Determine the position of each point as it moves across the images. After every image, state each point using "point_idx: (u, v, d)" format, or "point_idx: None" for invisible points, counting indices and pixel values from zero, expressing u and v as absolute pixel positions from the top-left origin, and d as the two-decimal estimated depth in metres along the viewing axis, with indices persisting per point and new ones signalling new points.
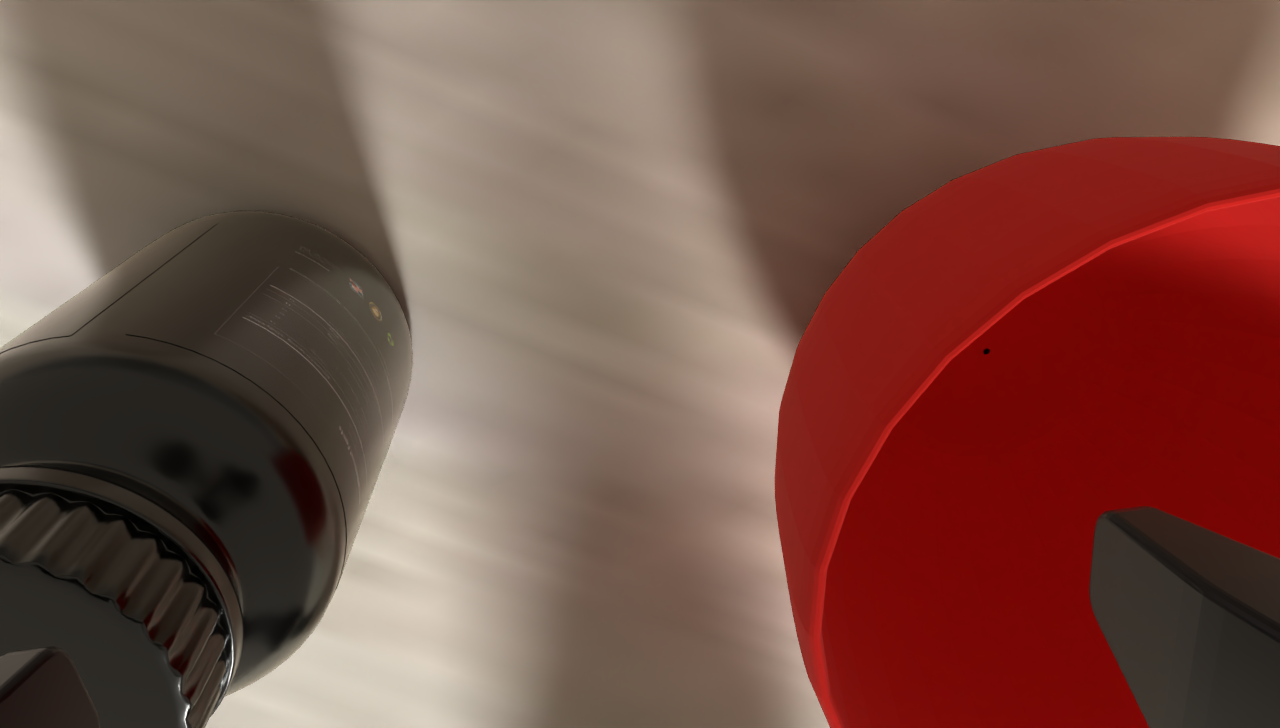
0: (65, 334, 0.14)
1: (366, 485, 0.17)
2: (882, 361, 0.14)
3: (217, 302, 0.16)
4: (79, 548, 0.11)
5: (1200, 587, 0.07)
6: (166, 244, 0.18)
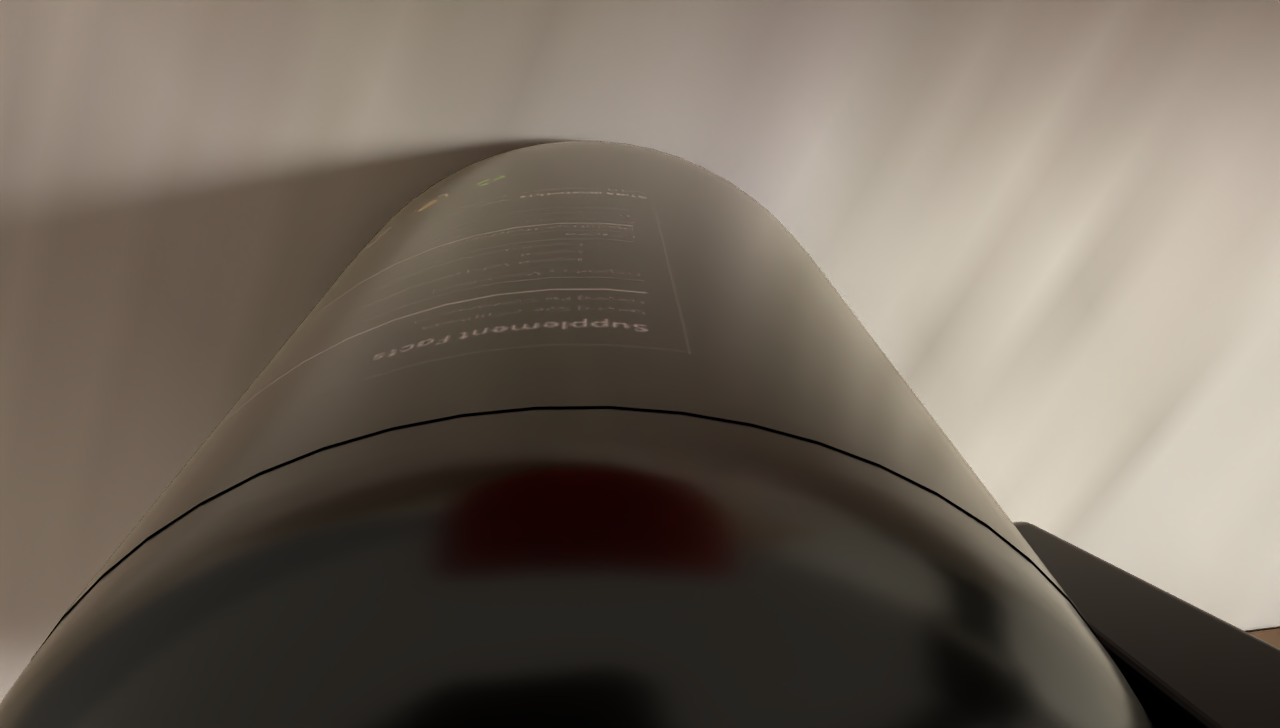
0: None
1: (643, 294, 0.06)
2: None
3: None
4: None
5: None
6: None
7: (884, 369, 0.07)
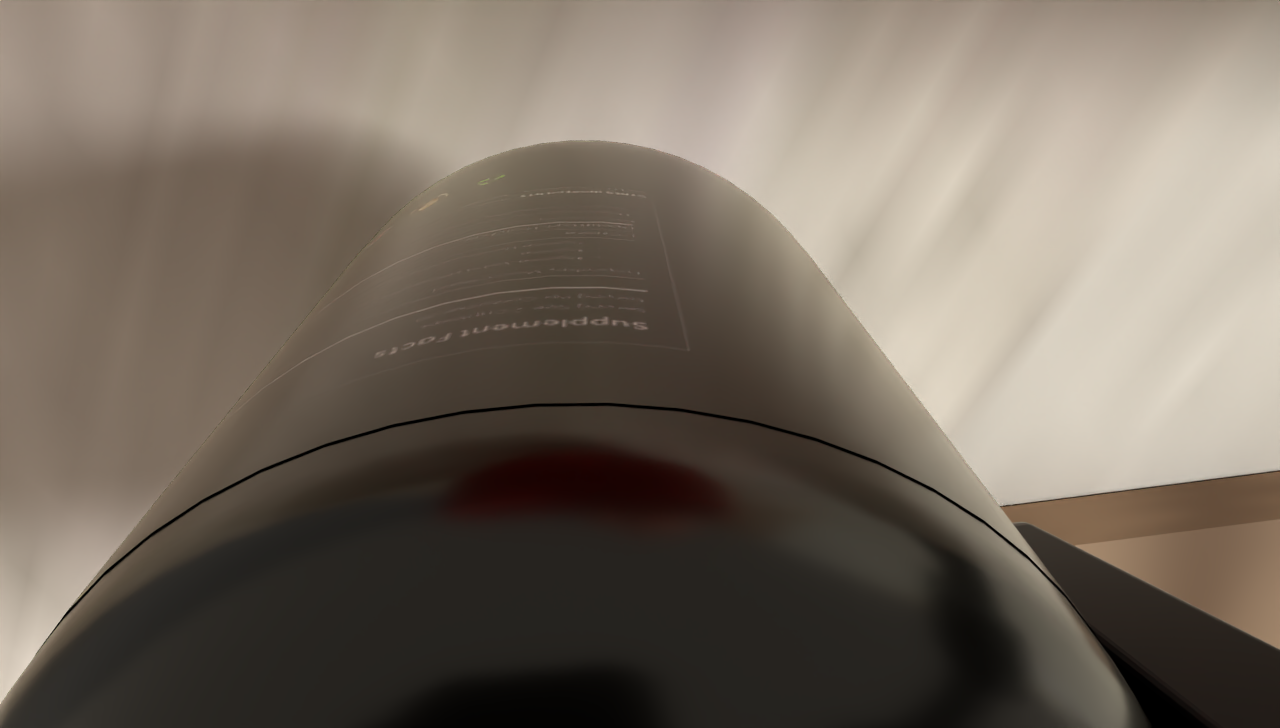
0: None
1: (642, 292, 0.06)
2: None
3: None
4: None
5: None
6: None
7: (882, 367, 0.07)
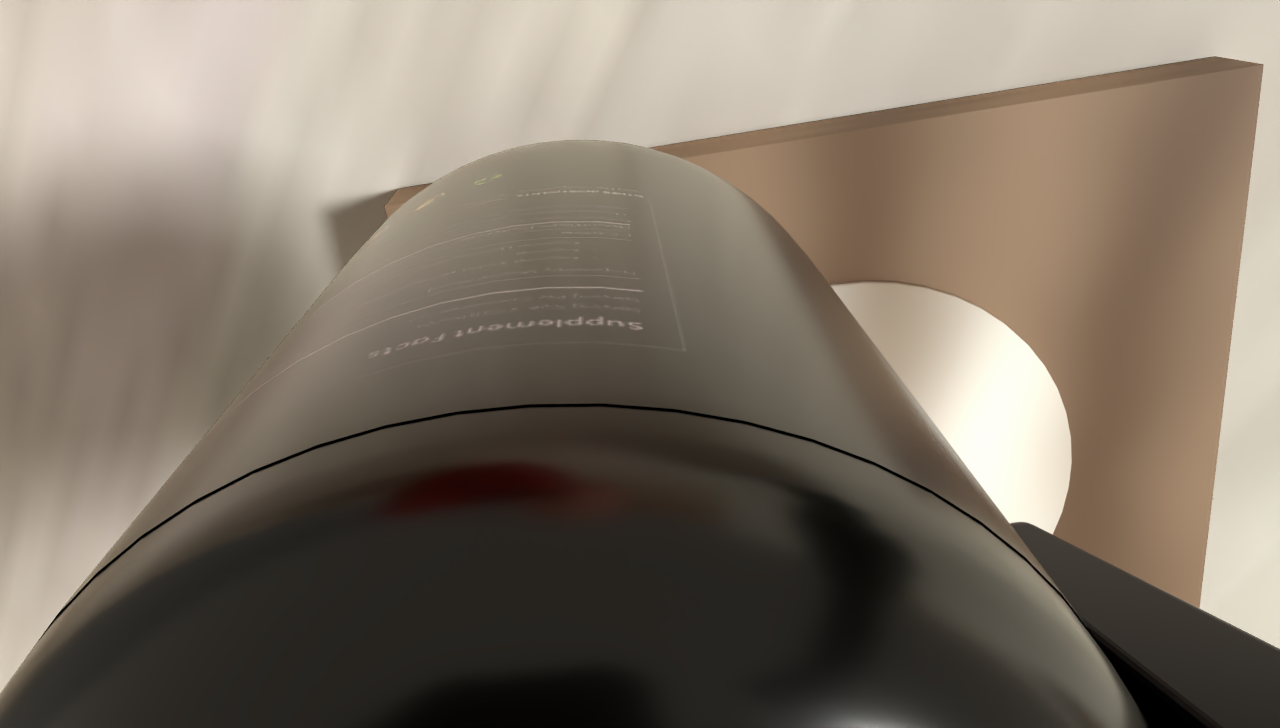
0: None
1: (638, 292, 0.06)
2: None
3: None
4: None
5: None
6: None
7: (880, 367, 0.07)
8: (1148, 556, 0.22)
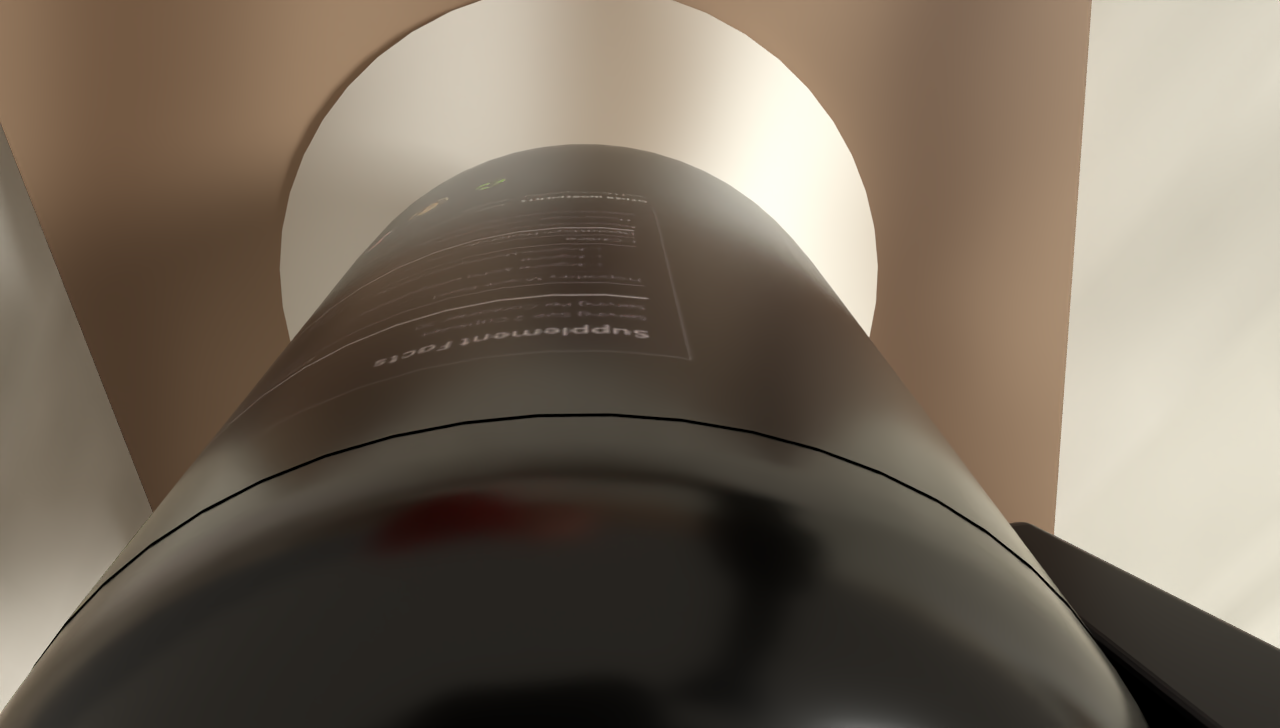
0: None
1: (643, 300, 0.06)
2: None
3: None
4: None
5: None
6: None
7: (884, 374, 0.07)
8: (988, 408, 0.17)
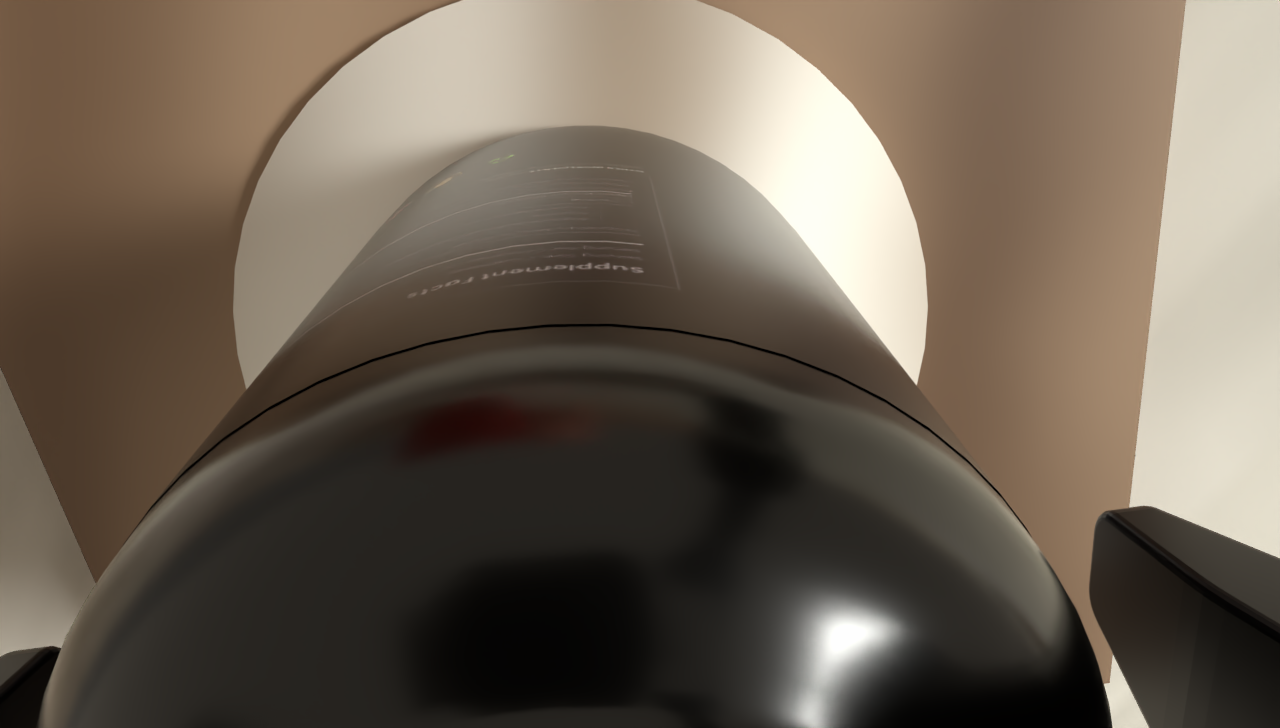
0: None
1: (639, 245, 0.07)
2: None
3: None
4: None
5: (1200, 587, 0.07)
6: None
7: (853, 317, 0.07)
8: (1049, 465, 0.15)
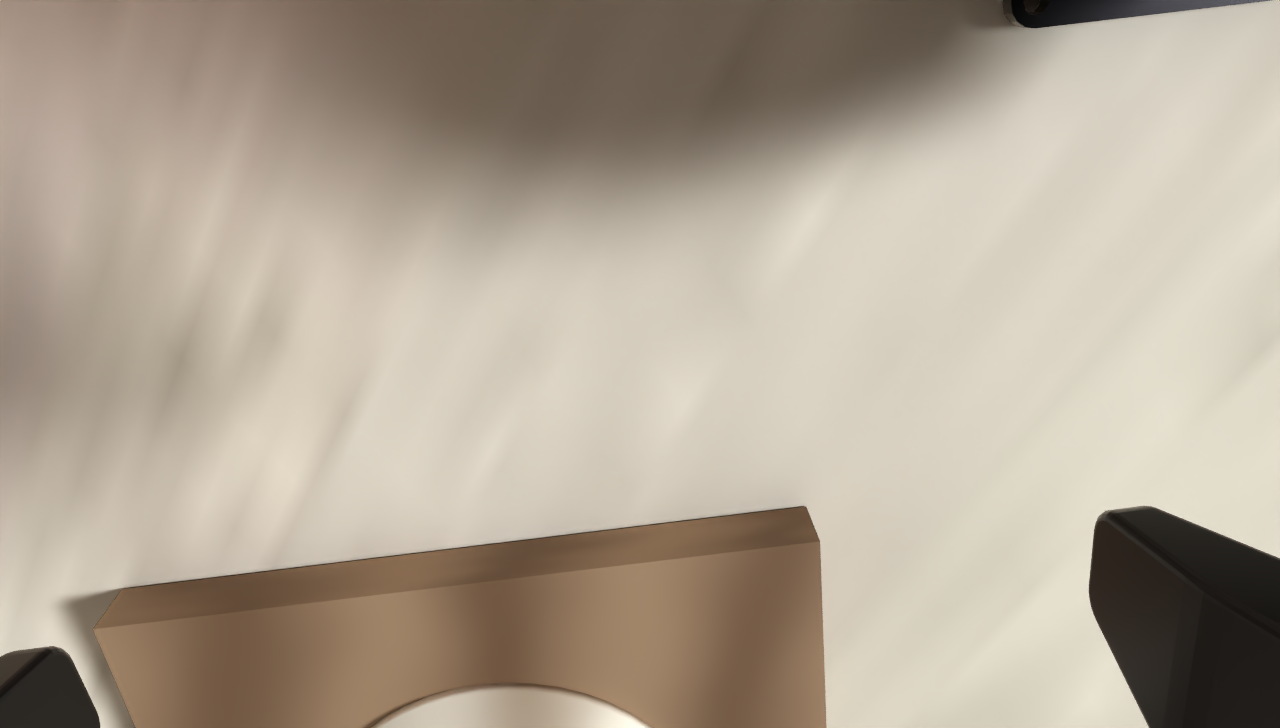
0: None
1: None
2: None
3: None
4: None
5: (1200, 587, 0.07)
6: None
7: None
8: None
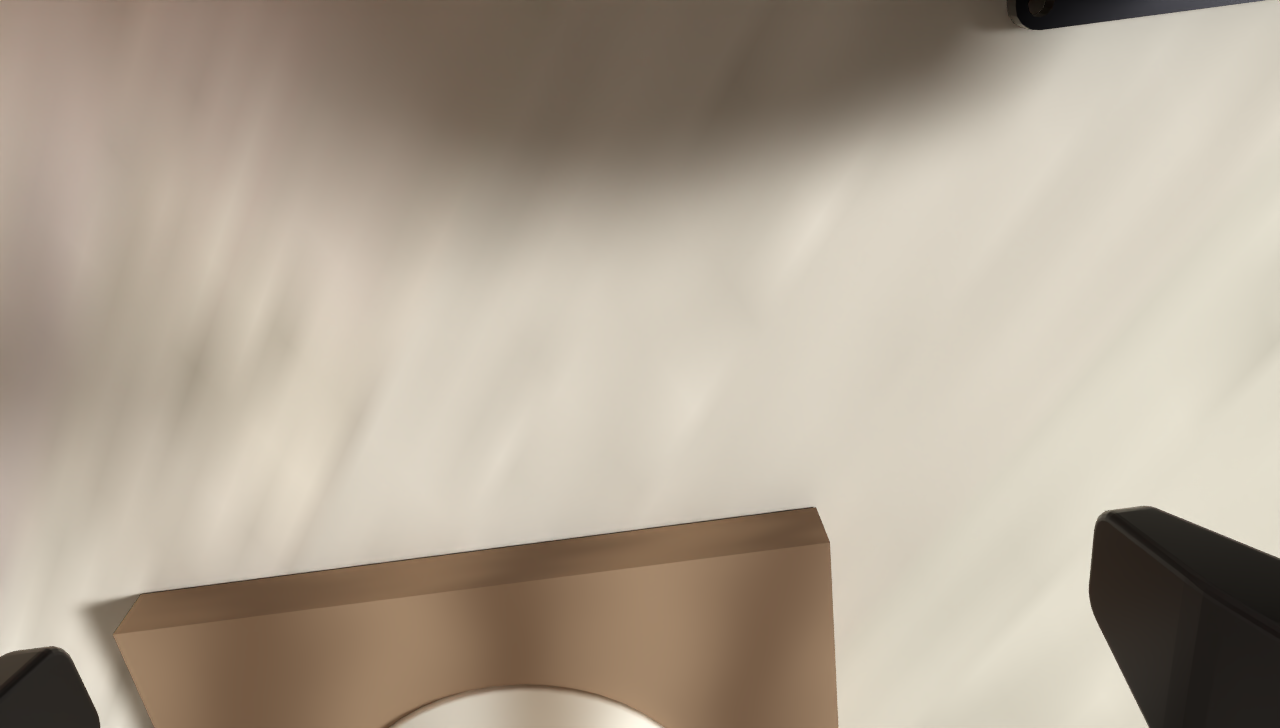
0: None
1: None
2: None
3: None
4: None
5: (1200, 587, 0.07)
6: None
7: None
8: None
